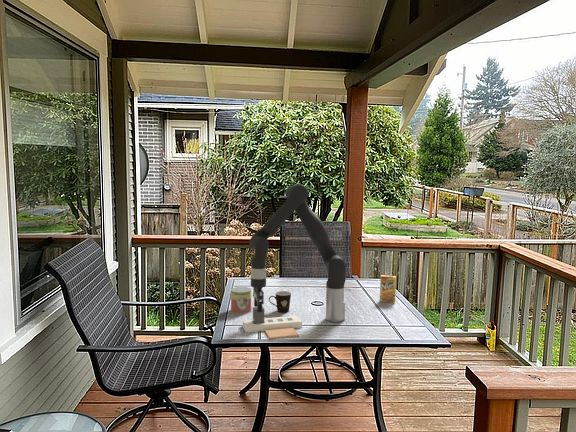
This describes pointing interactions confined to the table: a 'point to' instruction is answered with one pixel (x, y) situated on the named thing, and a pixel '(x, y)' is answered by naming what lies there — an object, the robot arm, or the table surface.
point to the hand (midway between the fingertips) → (258, 309)
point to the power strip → (273, 323)
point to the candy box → (387, 288)
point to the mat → (281, 333)
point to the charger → (258, 316)
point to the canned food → (241, 300)
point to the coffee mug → (282, 301)
